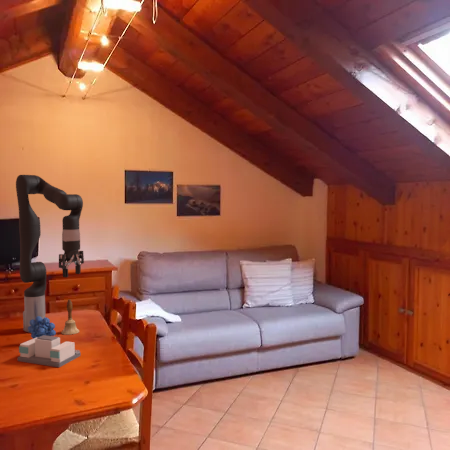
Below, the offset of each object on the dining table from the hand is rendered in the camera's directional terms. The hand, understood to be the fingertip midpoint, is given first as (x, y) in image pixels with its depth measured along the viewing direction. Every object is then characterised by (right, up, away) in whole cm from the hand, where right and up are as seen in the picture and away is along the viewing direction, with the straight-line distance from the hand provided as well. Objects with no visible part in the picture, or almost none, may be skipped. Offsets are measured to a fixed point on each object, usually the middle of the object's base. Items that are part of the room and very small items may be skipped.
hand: (71, 275), depth 196 cm
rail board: (-3, -31, -18) cm, 36 cm away
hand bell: (-6, -29, +16) cm, 34 cm away
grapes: (-13, -30, 0) cm, 33 cm away
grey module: (-3, -30, -19) cm, 36 cm away
